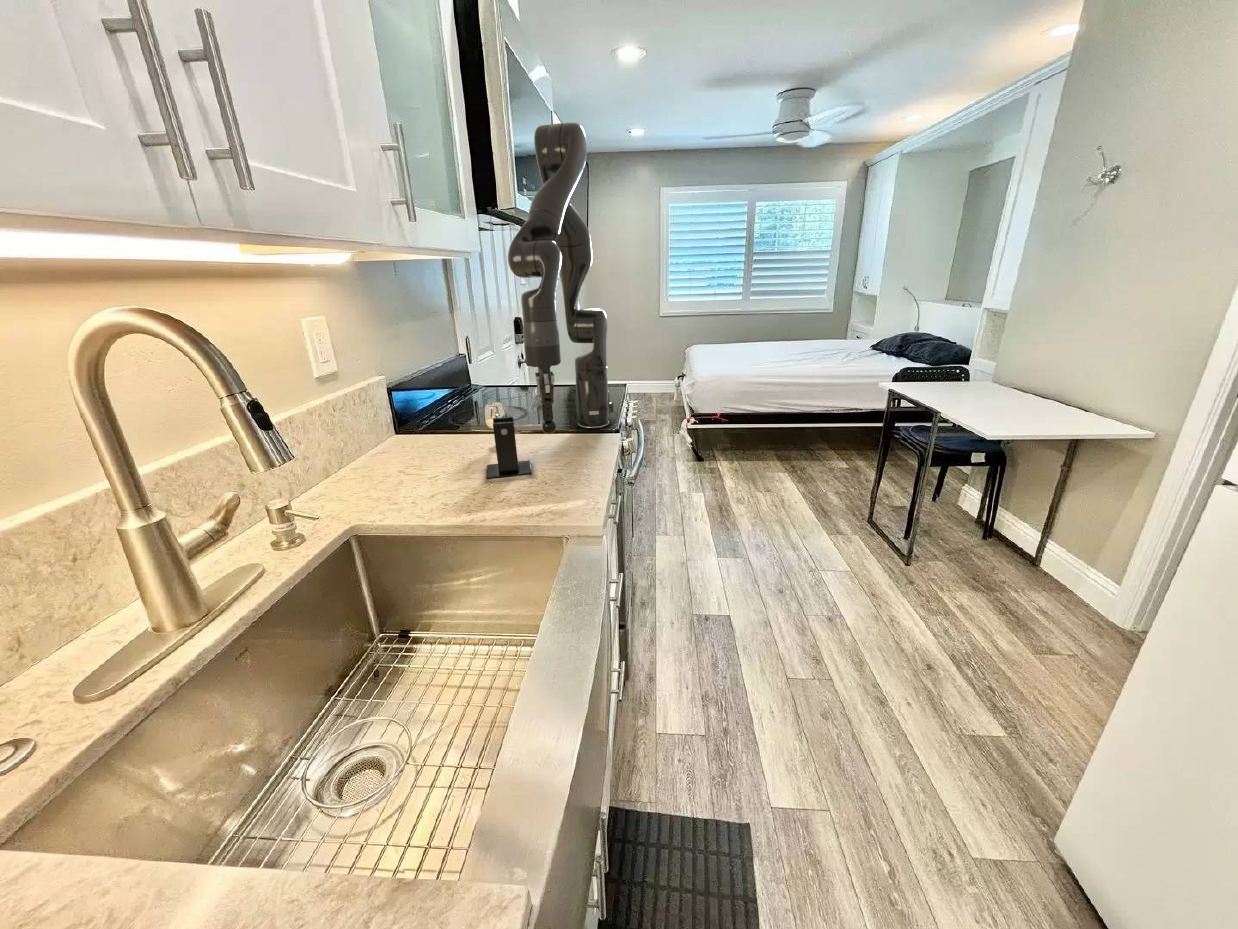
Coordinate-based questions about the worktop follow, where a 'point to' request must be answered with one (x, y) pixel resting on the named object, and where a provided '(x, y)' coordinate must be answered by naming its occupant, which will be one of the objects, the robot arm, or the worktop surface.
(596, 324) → the robot arm
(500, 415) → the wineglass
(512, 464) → the black lever stand
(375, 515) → the worktop surface
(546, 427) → the tap lever
